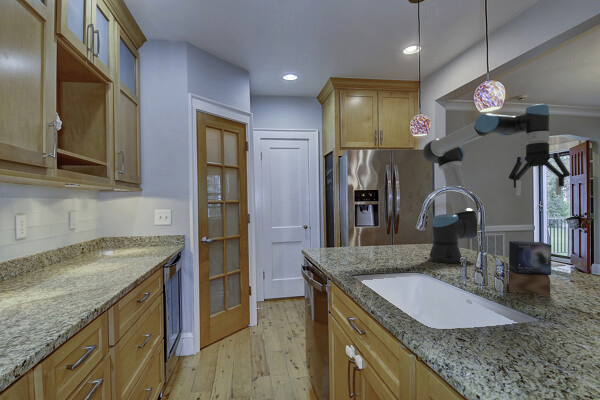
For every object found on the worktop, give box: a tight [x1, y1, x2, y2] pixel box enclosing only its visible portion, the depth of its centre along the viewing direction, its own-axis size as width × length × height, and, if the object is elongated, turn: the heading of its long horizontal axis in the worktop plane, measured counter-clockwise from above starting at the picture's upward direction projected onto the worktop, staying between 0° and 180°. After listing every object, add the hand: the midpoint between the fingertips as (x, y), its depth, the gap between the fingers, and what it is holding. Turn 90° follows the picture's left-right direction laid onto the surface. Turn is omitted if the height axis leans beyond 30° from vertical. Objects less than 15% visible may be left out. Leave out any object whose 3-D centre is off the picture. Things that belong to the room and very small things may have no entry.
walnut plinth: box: [508, 269, 551, 298], centre depth 106 cm, size 11×14×6 cm
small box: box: [508, 240, 552, 276], centre depth 106 cm, size 11×6×10 cm, turn 77°
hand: (537, 195), depth 125 cm, fingers open, 13 cm apart
